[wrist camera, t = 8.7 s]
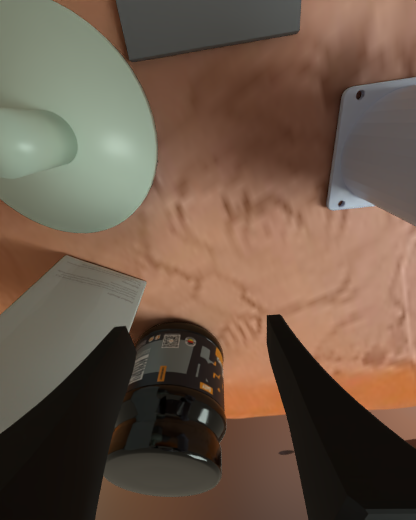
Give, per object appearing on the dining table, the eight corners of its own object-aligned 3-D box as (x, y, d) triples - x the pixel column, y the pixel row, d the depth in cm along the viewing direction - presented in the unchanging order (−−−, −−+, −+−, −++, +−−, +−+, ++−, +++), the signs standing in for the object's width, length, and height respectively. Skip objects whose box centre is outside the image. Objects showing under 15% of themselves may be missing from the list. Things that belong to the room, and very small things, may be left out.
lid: (135, -12, 10) (85, -97, 6) (170, 225, 16) (155, 258, 12) (-100, 10, 11) (-283, -55, 7) (15, 231, 16) (-48, 265, 12)
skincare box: (60, 295, 24) (-110, 485, 12) (66, 249, 21) (-153, 435, 9) (137, 319, 26) (62, 511, 13) (153, 279, 23) (75, 476, 10)
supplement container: (213, 378, 31) (213, 504, 21) (135, 367, 30) (95, 492, 20) (232, 325, 26) (244, 458, 16) (139, 310, 25) (86, 439, 15)
